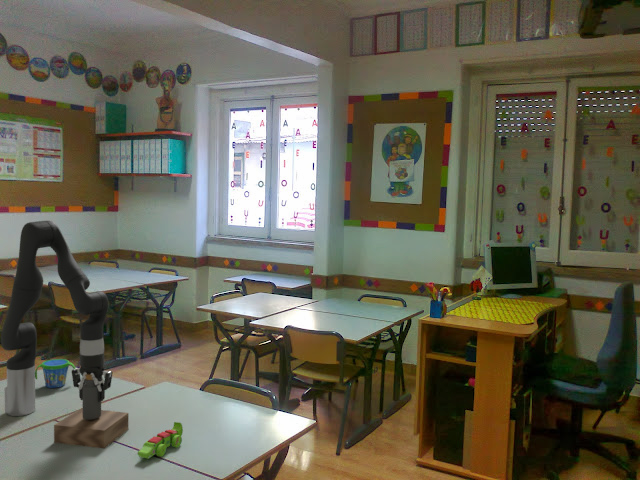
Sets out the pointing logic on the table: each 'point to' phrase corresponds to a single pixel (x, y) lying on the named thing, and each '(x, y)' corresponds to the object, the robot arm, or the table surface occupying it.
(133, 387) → the table surface
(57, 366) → the snack cup
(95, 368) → the robot arm
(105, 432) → the wooden box
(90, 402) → the bottle
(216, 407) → the table surface
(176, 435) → the toy crocodile
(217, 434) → the table surface
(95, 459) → the table surface
